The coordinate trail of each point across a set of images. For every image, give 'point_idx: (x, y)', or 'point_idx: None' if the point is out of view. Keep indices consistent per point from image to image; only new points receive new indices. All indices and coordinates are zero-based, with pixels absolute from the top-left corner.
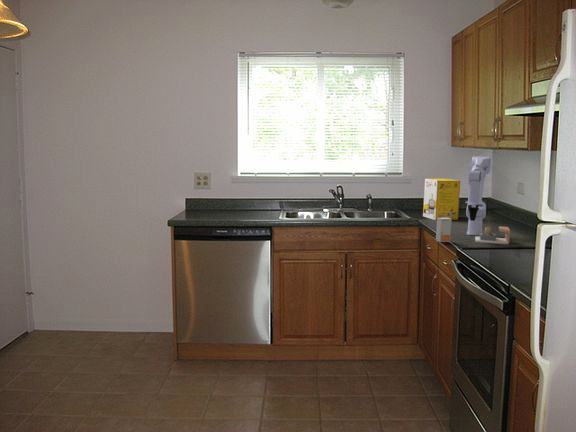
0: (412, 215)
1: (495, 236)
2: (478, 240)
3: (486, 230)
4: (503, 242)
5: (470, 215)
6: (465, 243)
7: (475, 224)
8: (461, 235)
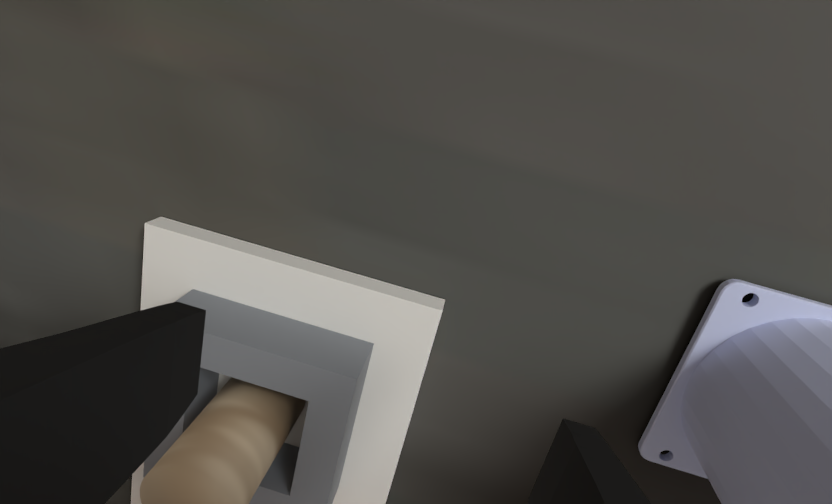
0: None
1: (149, 464)
2: (146, 252)
3: (177, 439)
4: (135, 474)
5: (29, 356)
6: (19, 48)
7: (758, 491)
8: (684, 175)
